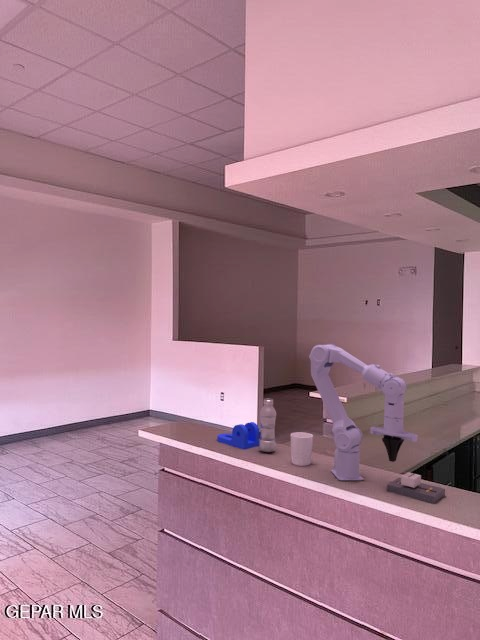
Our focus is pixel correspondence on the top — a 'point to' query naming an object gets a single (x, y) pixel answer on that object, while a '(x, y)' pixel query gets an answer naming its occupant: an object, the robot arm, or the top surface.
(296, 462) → the white cup
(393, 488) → the strip
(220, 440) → the bracket
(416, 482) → the fader knob
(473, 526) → the top surface
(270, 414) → the plastic bottle
